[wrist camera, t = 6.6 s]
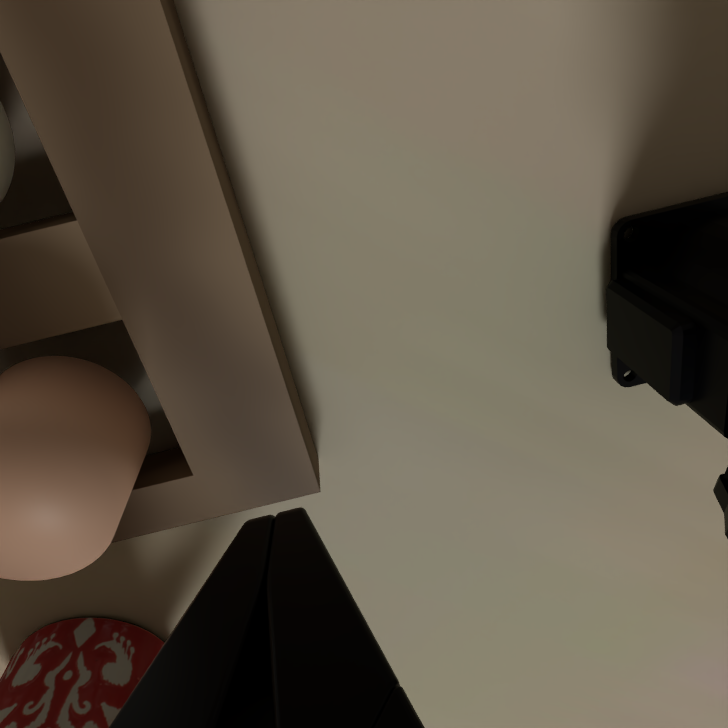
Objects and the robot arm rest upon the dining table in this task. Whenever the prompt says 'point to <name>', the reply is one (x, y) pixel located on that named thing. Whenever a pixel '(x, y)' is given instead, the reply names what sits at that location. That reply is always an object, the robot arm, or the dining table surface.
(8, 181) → the button cream
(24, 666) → the mug
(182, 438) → the button board
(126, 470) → the button terracotta
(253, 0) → the dining table surface
